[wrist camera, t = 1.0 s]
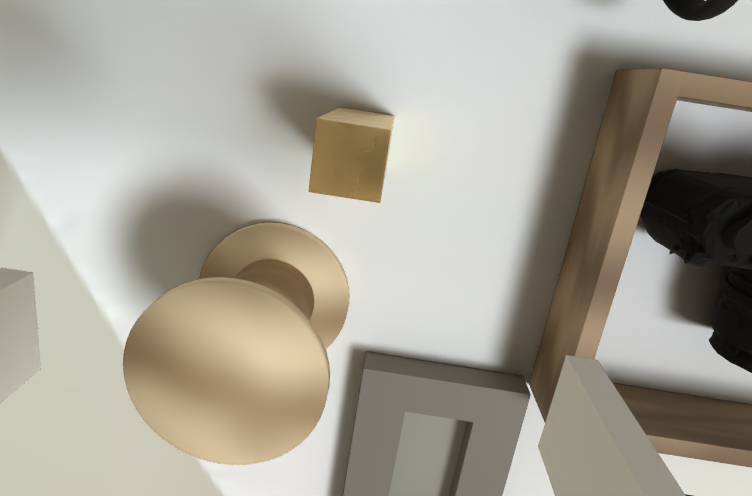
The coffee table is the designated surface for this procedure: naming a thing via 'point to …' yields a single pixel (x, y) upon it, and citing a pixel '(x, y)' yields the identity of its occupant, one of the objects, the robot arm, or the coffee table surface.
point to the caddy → (608, 254)
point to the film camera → (710, 244)
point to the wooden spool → (241, 347)
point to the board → (433, 429)
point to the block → (351, 154)
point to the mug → (698, 8)
